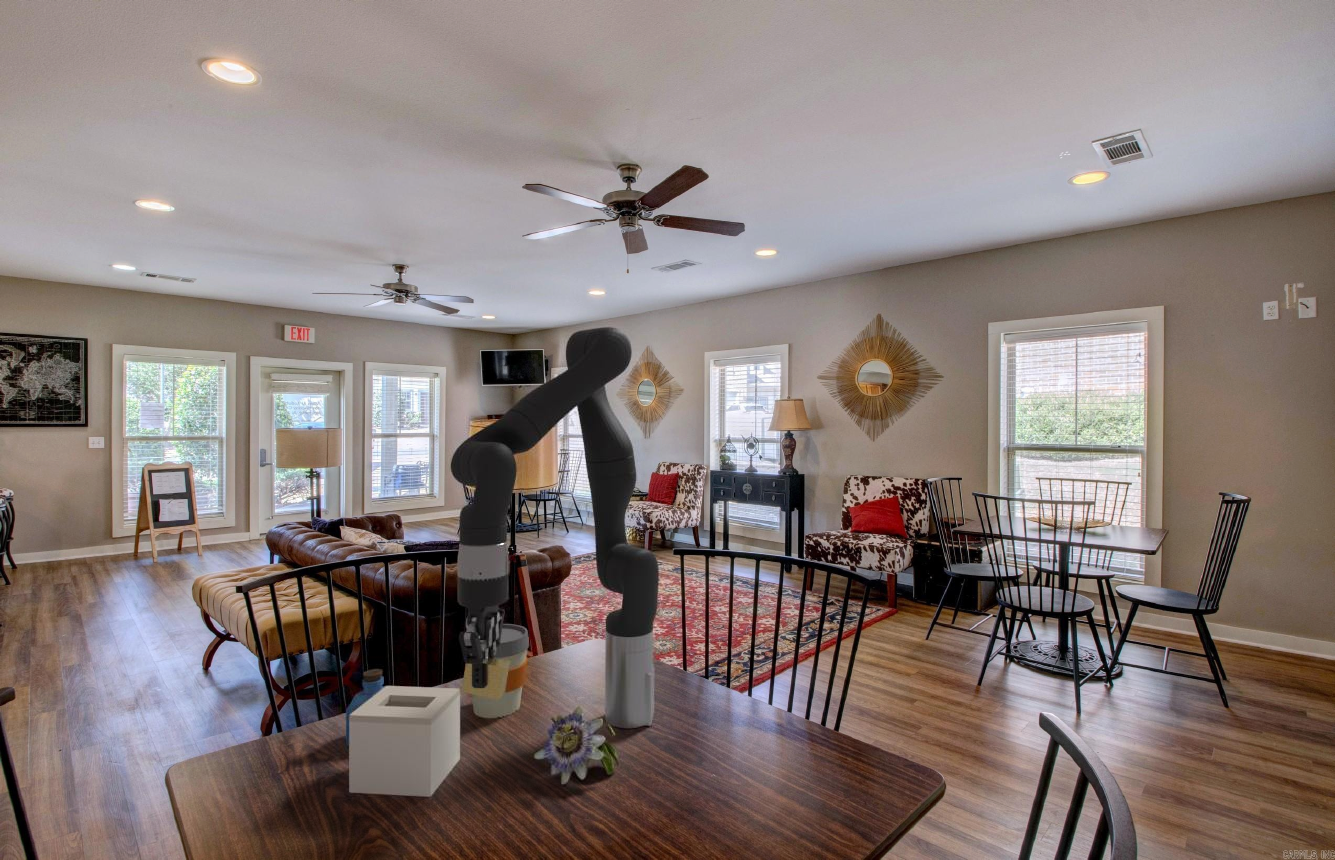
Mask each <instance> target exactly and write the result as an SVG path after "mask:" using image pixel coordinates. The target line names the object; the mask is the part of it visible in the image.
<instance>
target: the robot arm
mask: <svg viewBox="0 0 1335 860" xmlns="http://www.w3.org/2000/svg"><path fill="white" fill-rule="evenodd" d="M632 351H633V349H632V344H631V342H630V339H629V337H628V336H627V334H625V331H622V330H621V329H620V328H616V327H610V326H606V327H605V326H604V327H603V326H602V327H597V328H596V327H594V328H589V329H583V330H578V331H575V332H573V333H572V334H571V335H570V337H569V338H568V339H567V342H566V347H565V360H566V361H565V362H566V367H567V369H566V370H565V371H564V372H562V373H560V374H559V375H557V376H555V377H552V378H551V379H550V380H548V381H546V382H544V383H542V384H540V385H539V386H538V387H536V388H534V389H533V390H531V391H530V392H528V393H527V394H525V395H524V396H523V397H522V398H520V399H519V400H518V401H517V402H516V403H515V404H514V405H513V406H512V407H511V408H509V409H508V410H507V411H506V412H505V413H504V414H503V415H502V416H501V417H500V418H498V419H497V420H495V421H494V422H492V423H490V424H488V425H486V426H485V427H484V428H481V429H480V430H478V431H477V432H476V433H474V434H472V435H471V436H470V437H467V439H466V440H464V441H463V442H462V443H461V444H460V445H459V446H458V447H457V448H456V450H455V451H454V452H453V454H452V457H451V460H450V472H451V474H452V476H453V478H454V479H455V480H456V481H457V482H458V483H460V484H462V485H464V486H468V487H473V488H474V487H475V489H474V493H473V499H472V503H469V504H466V505H464V506H463V507H462V508H461V510H460V513H459V543H458V544H459V545H458V546H459V547H458V554H457V603H458V605H460V606H461V607H465V608H466V609H468V612H467V617H466V621H465V627H466V631H460V632H459V635H458V641H459V644H460V648H461V651H462V653H461V654H462V656H463V660H464V663H465V665H466V664H472V687H473V688H485V687H486V686H487V664H488V658H494V656H493V655H495V654H496V647H499V645H500V639H501V633H502V626H503V624H504V617H505V608H499V606H500V605H503V604H505V603H506V602H507V601H508V599H509V550H508V541H507V540H508V535H507V534H508V530H507V529H508V521H507V519H508V518H507V517H508V516H507V515H508V512H509V507H510V504H511V501H512V497H513V492H514V489H515V484H516V480H517V474H518V473H517V471H518V468H517V462H516V457H515V455H517V454H522V453H526V452H528V451H530V450H531V449H533V448H534V447H535V446H536V445H537V444H538V443H540V441H541V440H543V438H544V437H545V436H546V435H547V434H548V433H549V432H550V431H551V430H552V429H553V428H554V427H555V426H556V425H557V424H558V423H559V422H560V421H561V420H562V419H563V418H565V417H566V416H567V415H568V414H569V413H571V412H572V411H573V410H575V408H577V414H578V419H579V424H580V425H579V426H580V429H581V430H580V432H581V436H582V437H581V438H582V442H583V449H584V450H583V451H584V458H585V467H586V474H587V480H588V484H589V490H590V491H589V492H590V497H591V506H592V508H591V509H592V515H593V516H592V517H593V522H594V523H593V524H594V538H595V539H594V540H595V563H596V574H597V576H598V577H597V578H598V581H599V583H600V584H601V585H602V587H603V588H605V589H606V590H608V591H610V592H613V593H617V594H620V595H622V602H621V608H619V609H616V610H612V611H610V612H609V613H608V614H607V615H606V617H605V657H604V658H605V666H604V667H605V668H604V669H605V671H604V673H605V677H604V678H605V679H604V680H605V683H604V684H605V685H604V686H605V687H604V688H605V689H604V690H605V692H604V693H605V694H604V697H605V703H604V705H605V706H604V717H605V718H604V719H605V722H606V724H607V723H609V724H610V726H612V727H615V728H620V729H636V728H640V727H645V726H647V727H650V726H652V721H653V719H654V714H655V664H654V621H655V619H656V615H657V610H658V597H659V584H660V583H659V579H660V578H659V577H660V575H659V574H660V573H659V570H660V569H659V568H660V567H659V563H658V559H657V557H656V555H655V554H654V553H653V552H652V551H651V550H649V549H646V548H642V547H636V546H631V545H629V543H628V538H627V534H626V522H625V520H626V514H627V511H628V510H627V509H628V506H629V504H630V501H631V499H632V496H633V495H634V491H635V489H636V483H637V467H636V461H635V453H634V448H633V444H632V441H631V439H630V437H629V435H628V433H627V432H626V429H624V427H623V425H622V424H621V422H620V421H619V419H618V418H617V416H616V415H615V413H614V411H613V409H612V407H611V405H610V402H609V399H608V397H607V391H606V385H607V384H608V383H610V382H612V381H613V380H614V379H616V378H618V377H619V376H620V375H621V374H623V373H624V372H625V371H626V370H627V368H628V367H629V365H630V362H631V360H632V353H633V352H632Z"/></svg>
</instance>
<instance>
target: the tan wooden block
mask: <svg viewBox="0 0 1335 860" xmlns="http://www.w3.org/2000/svg"><path fill="white" fill-rule="evenodd" d="M509 664H510V661H505V660H500V659H495V658H488V664H487V686H486V687H485V688H473V687H472V664H466V663H465V667H464V674H463V680H462V686H461V690H460V693H465V694H470V695H472V694H474V695H479V696H483V697H488V698H493V699H498V700H499V699H500V698H501V697H502V696H503V694H504V693H505V688H506V682H507V676H508V670H509Z"/></svg>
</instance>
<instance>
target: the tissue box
mask: <svg viewBox="0 0 1335 860" xmlns="http://www.w3.org/2000/svg"><path fill="white" fill-rule="evenodd" d="M383 687H384V688H383V689H382V690H380V691H379V692H378V693H377V694H375V695H374V696H373V697H372V698H370V699H369V700H368V701H366V702H365V703H364V704H363V705H361V706H360V707H359V708H358V709H356V710H355V711H354V712H353V713H351V714H350V715H349V745H348V747H349V748H348V753H349V755H348V757H349V759H348V760H349V762H348V764H349V765H348V769H349V770H348V773H349V774H348V783H349V788H348V791H349V793H351V794H353V793H354V794H374V795H389V796H390V795H392V796H407V797H409V796H410V797H413V796H414V797H427V798H429V797H430V798H431V797H432V796H433V795H434V793H435V792H436V790H437V789H438V788H439V787H440V785H441V784H442V783H443V782H444V780H445V779H446V778H447V777H448V776H449V774H450V773H451V771H452V770H453V768H454V767H456V765H457V763H458V762H459V761H460V760H461V688H454V687H453V688H452V687H451V688H450V687H449V688H448V687H430V686H427V687H426V686H425V687H424V686H400V685H398V686H397V685H385V686H383Z"/></svg>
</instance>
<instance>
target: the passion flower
mask: <svg viewBox="0 0 1335 860" xmlns="http://www.w3.org/2000/svg"><path fill="white" fill-rule="evenodd" d="M583 718H584V711H583V708H582V707H581V706H580V705H579V706H577V707H575V709H574V710H573V712H572V713H571V714H568V715H565V716H564V717H563V716H562V715H557V716H556V719H555V718H554V717H551V718H550V720H551V721H552V724H551V726H552V727H549V728H548V729H547V734H548V736H549V737H548V739H547V740H545V741H544V742H543V747H541V748H540V749H538V750H537V751H536V752H534V754H533V758H534V759H535V760H543V759H547V762H548V763H549V764H551V766H550V776H551V777H553V776H556V775H560V783H561V784H560V785H562V786H563V785H566V784H567V783H568V782H569V781H570V779H571V776H572V773H573V772H575V774H576V776H577V778H579V780H582V781H583V780H584V779H586V777H587V775H588V764H589V761H590V760H592V761H600V762H601V764H602V767H604V770H605V771H606V774H607V775H610V776H612V775H613V774H614V773H615V767H614V761H615V763H616V766H619V764H620V762H619V759H618V754H617V752H616V749H615V747H614V746H613V745H612V744H611V743H609V742H608V741H607V740H606V737H605V736H604V735H600V734H597V733H596V732H597V731H598V730H600V729H602V728H603V727H605V726H606V727H605V728H606V729H607V730H608V731H609V732H610V736H611V738H614V737H615V736H616V733H615V732H614V730H613V728H612V727H611V725H610V724H609V723H607V722H606V723H605V724H604V721H603V718H598V719H592V720H591V721H586V722H585V719H583ZM613 759H614V760H613Z"/></svg>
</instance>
